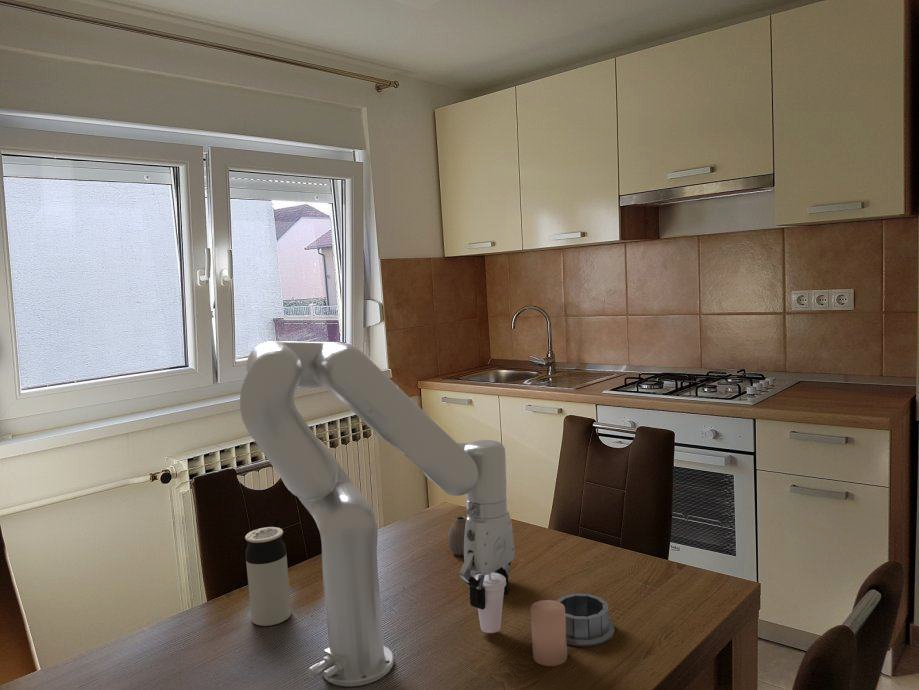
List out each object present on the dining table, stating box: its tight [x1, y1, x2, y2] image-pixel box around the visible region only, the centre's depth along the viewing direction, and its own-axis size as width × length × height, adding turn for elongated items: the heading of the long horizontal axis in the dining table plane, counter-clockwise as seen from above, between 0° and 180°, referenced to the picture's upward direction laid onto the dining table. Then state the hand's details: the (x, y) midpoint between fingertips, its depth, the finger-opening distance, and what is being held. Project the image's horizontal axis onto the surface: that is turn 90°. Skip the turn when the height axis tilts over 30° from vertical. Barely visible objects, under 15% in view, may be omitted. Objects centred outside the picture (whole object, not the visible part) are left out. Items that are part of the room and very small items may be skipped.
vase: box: [447, 516, 467, 557], centre depth 171 cm, size 7×7×9 cm
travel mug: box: [244, 526, 292, 627], centre depth 143 cm, size 8×8×18 cm
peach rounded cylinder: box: [530, 599, 568, 667], centre depth 123 cm, size 6×6×9 cm
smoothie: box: [474, 572, 506, 634], centre depth 132 cm, size 6×6×14 cm
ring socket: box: [555, 593, 616, 648], centre depth 132 cm, size 12×12×5 cm
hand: (489, 599), depth 132 cm, fingers closed on smoothie, 6 cm apart
